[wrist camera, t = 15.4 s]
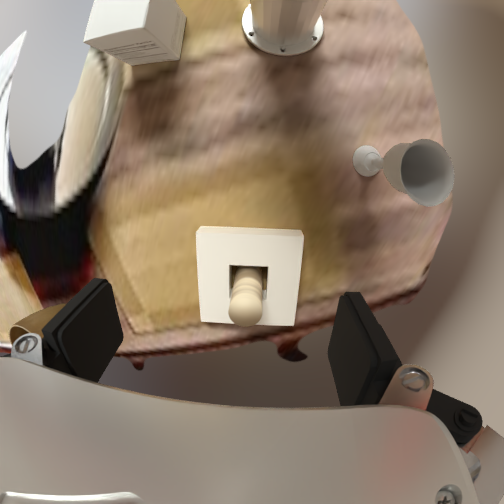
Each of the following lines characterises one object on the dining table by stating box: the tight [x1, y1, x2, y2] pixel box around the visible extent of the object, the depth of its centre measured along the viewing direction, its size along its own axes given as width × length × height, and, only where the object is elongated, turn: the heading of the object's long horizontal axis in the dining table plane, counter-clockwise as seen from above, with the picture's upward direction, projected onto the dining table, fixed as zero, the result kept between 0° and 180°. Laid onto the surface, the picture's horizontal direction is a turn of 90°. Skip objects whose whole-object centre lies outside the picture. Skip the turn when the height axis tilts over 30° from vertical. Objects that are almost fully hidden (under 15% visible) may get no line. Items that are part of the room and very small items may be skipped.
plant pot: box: [9, 304, 66, 345], centre depth 45 cm, size 15×15×16 cm
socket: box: [196, 226, 304, 326], centre depth 45 cm, size 16×16×4 cm
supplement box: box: [83, 0, 186, 66], centre depth 25 cm, size 9×9×15 cm
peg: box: [228, 265, 262, 327], centre depth 41 cm, size 4×4×12 cm
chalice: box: [353, 139, 454, 207], centre depth 31 cm, size 7×7×18 cm
